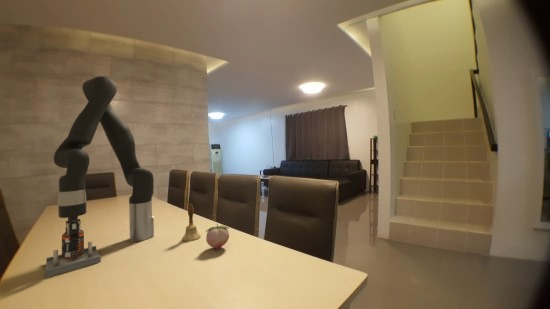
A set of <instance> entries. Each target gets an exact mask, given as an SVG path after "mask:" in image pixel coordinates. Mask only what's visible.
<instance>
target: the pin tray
mask: <svg viewBox="0 0 550 309" xmlns="http://www.w3.org/2000/svg"><path fill="white" fill-rule="evenodd" d="M52 255H53V256H49V257H46V265H45V271H44V279H48V278H51V277H55V276H59V275H62V274H64V273H65V274H66V273H68V272H72V271H75V270H78V269H81V268H85V267H89V266H92V265H96V264H98V263H101V262H102V259H101V258H102V257H101V255H100V254H99V252H98V250H97V245H93V241H89V242H87V247H86V248H85V247H84V254H83V255H81V256H79V257H77V258H74V259H69V260H65V259H62V253H61V254H59V249H53V251H52Z"/></svg>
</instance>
